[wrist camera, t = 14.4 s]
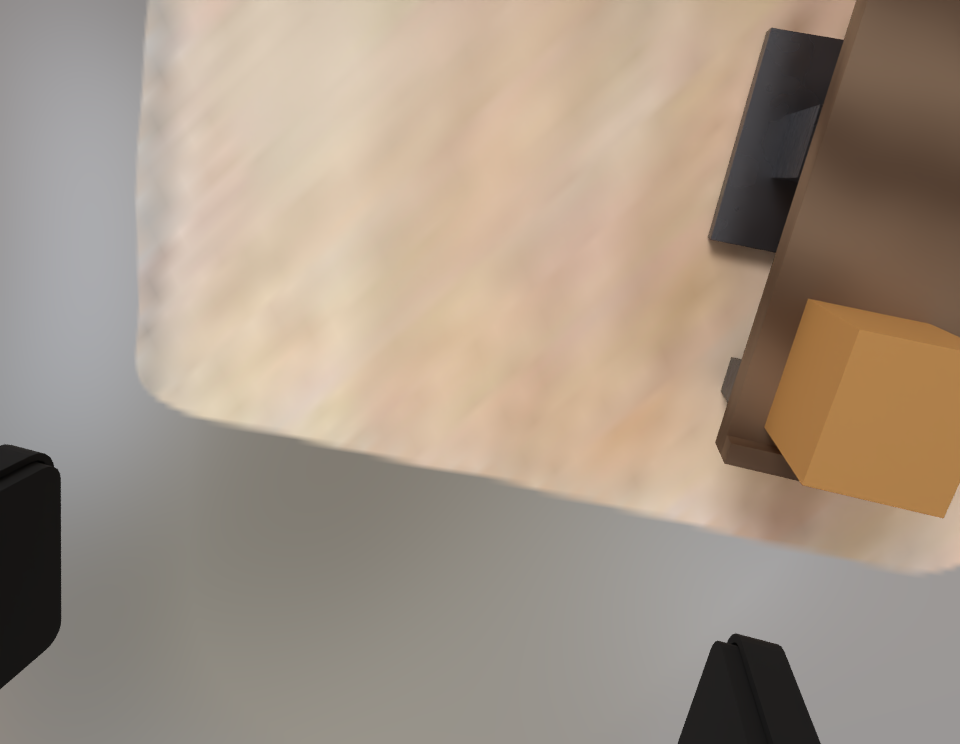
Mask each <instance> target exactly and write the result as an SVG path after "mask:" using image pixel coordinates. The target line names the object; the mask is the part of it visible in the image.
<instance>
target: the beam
mask: <svg viewBox="0 0 960 744" xmlns="http://www.w3.org/2000/svg"><path fill="white" fill-rule="evenodd" d="M808 299H812V300H817V301H822V302H827V303H832V304H836V305H841V306H846V307H851V308H856V309H861V310H865V311H870V312H875V313H880V314H885V315H889V316H894V317H899V318H904V319H909V320H914V321H918V322H923V323H928V324H931V325H934V326H936V327H938V328H940V329H942V330H945V331H947V332H949V333H951V334H953V335H956V336H958V337H960V0H857V1H856V4H855V7H854V10H853V13H852V16H851V19H850V22H849V26H848V29H847V32H846V35H845V38H844V41H843V44H842V47H841V51H840V54H839V57H838V60H837V63H836V66H835V69H834V72H833V76H832V79H831V82H830V85H829V88H828V91H827V94H826V98H825V101H824V104H823V107H822V110H821V113H820V116H819V119H818V123H817V126H816V129H815V132H814V135H813V138H812V141H811V144H810V148H809V151H808V154H807V157H806V160H805V163H804V166H803V170H802V173H801V176H800V179H799V182H798V185H797V188H796V191H795V195H794V198H793V201H792V204H791V207H790V210H789V213H788V216H787V220H786V223H785V226H784V229H783V232H782V235H781V238H780V242H779V245H778V248H777V251H776V254H775V257H774V260H773V263H772V267H771V270H770V273H769V276H768V279H767V282H766V285H765V288H764V292H763V295H762V298H761V301H760V304H759V307H758V310H757V314H756V317H755V320H754V323H753V326H752V329H751V332H750V335H749V339H748V342H747V345H746V348H745V351H744V354H743V357H742V360H741V364H740V367H739V370H738V373H737V376H736V379H735V382H734V386H733V389H732V392H731V395H730V398H729V401H728V404H727V407H726V411H725V414H724V417H723V420H722V423H721V426H720V429H719V432H718V436H717V439H716V442H715V443H716V445H717V447H718V450H719V452H720V454H721V457H722V459H723V461H724V463H725V464H729V465H733V466H738V467H742V468H746V469H750V470H755V471H759V472H763V473H767V474H772V475H776V476H780V477H784V478H789V479H793V480H797V481H799V479H798V478H797V476H796V475H795V473H794V472H793V470H792V469H791V467H790V466H789V464H788V463H787V461H786V460H785V458H784V457H783V455H782V454H781V452H780V450H779V449H778V447H777V446H776V444H775V443H774V441H773V440H772V438H771V437H770V435H769V434H768V432H767V431H766V429H765V428H764V427H765V424H766V421H767V418H768V415H769V412H770V409H771V406H772V403H773V400H774V397H775V394H776V391H777V388H778V385H779V383H780V380H781V377H782V374H783V371H784V368H785V365H786V362H787V359H788V356H789V353H790V350H791V347H792V344H793V341H794V339H795V336H796V333H797V330H798V327H799V324H800V321H801V318H802V315H803V312H804V309H805V306H806V303H807V300H808Z"/></svg>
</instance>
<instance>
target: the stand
mask: <svg viewBox="0 0 960 744" xmlns="http://www.w3.org/2000/svg"><path fill="white" fill-rule="evenodd" d="M843 41H844V40H841V39H835V38H829V37H823V36H817V35H811V34H805V33H799V32H793V31H787V30H781V29H775V28H771V29H770V30H768V31H767V32H766V35H765V39H764V42H763V46H762V49H761V53H760V56H759V60H758V63H757V67H756V70H755V74H754V77H753V81H752V84H751V88H750V91H749V95H748V98H747V102H746V105H745V109H744V112H743V116H742V119H741V123H740V126H739V130H738V133H737V137H736V140H735V144H734V147H733V151H732V154H731V158H730V161H729V165H728V168H727V172H726V175H725V179H724V182H723V186H722V189H721V193H720V196H719V200H718V203H717V207H716V210H715V214H714V217H713V221H712V224H711V228H710V231H709V235H708V238H709V239H711V240H716V241H721V242H726V243H731V244H736V245H741V246H746V247H751V248H756V249H761V250H765V251H770V252H775V253H776V251H777V248H778V245H779V242H780V238H781V235H782V232H783V229H784V226H785V223H786V220H787V216H788V213H789V210H790V207H791V204H792V201H793V198H794V195H795V191H796V188H797V185H798V182H799V179H800V176H801V173H802V170H803V166H804V163H805V160H806V157H807V154H808V151H809V148H810V144H811V141H812V138H813V135H814V132H815V129H816V126H817V123H818V119H819V116H820V113H821V110H822V107H823V104H824V101H825V98H826V94H827V91H828V88H829V85H830V82H831V79H832V76H833V72H834V69H835V66H836V63H837V60H838V57H839V54H840V51H841V47H842V44H843ZM741 360H742V359H737V358H733V357H731V360H730V363H729V366H728V370H727V373H726V376H725V379H724V382H723V386H722V389H721V392H722V394H723V395H724V397H725V399H726V401H727V402H728V401H729V398H730V395H731V392H732V389H733V386H734V382H735V379H736V376H737V373H738V370H739V367H740V364H741Z"/></svg>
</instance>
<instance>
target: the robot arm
mask: <svg viewBox="0 0 960 744" xmlns="http://www.w3.org/2000/svg"><path fill="white" fill-rule="evenodd" d="M60 625H61V478H60V473H59V471H58V469H56V468H55V467H54V465H53V462H52V460H51V458H50V457H49V456H48V455H46V454H43V453H40V452H36V451H32V450H28V449H24V448H20V447H17V446H13V445H1V446H0V689H1V688H2V687H3V686H4V685H6V684H7V683H8V682H9V681H10V680H11V679H13V678H14V677H15V676H16V675H17V674H18V673H20V672H21V671H22V670H23V669H24V668H25V667H27V666H28V665H29V664H30V663H31V662H32V661H33V660H35V659H36V658H37V657H38V656H39V655H40V654H41V653H43V652H44V651H45V650H46V649H47V648H48V647H49V646H50V645H51V643H52V642H53V641H54V639H55V638H56V636H57V634H58V632H59V629H60ZM678 744H821V743H820V741H819V739H818V736H817V733H816V731H815V728H814V726H813V723H812V721H811V718H810V716H809V713H808V710H807V708H806V706H805V703H804V700H803V698H802V695H801V693H800V690H799V688H798V685H797V683H796V680H795V677H794V675H793V672H792V670H791V668H790V665H789V662H788V660H787V657H786V655H785V652H784V650H783V649H782V647H781V646H779V645H778V644H774V643H770V642H766V641H763V640H759V639H755V638H751V637H747V636H743V635H740V634H733V635H732V636H731V637H730V638H729V640H728V642H727V643H725V642H721V641H716V642H715V643H714V644H713V646H712V648H711V650H710V653H709V656H708V659H707V662H706V665H705V667H704V670H703V673H702V676H701V679H700V681H699V684H698V687H697V690H696V693H695V696H694V698H693V701H692V704H691V707H690V710H689V713H688V716H687V718H686V721H685V724H684V727H683V730H682V733H681V735H680V738H679V741H678Z"/></svg>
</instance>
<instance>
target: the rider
mask: <svg viewBox="0 0 960 744" xmlns="http://www.w3.org/2000/svg"><path fill="white" fill-rule="evenodd" d="M764 428H765V429H766V431H767V432H768V434H769V435H770V437H771V438H772V440H773V441H774V443H775V444H776V446H777V447H778V449H779V450H780V452H781V454H782V455H783V457H784V458H785V460H786V461H787V463H788V464H789V466H790V467H791V469H792V470H793V472H794V473H795V475H796V476H797V478H798V479H799V481H800V483H801V484H802V485H804V486H808V487H812V488H817V489H821V490H825V491H829V492H834V493H838V494H842V495H846V496H851V497H855V498H859V499H863V500H868V501H872V502H876V503H880V504H885V505H889V506H893V507H898V508H902V509H906V510H910V511H915V512H919V513H923V514H927V515H932V516H936V517H940V518H944V516H945V514H946V512H947V509H948V507H949V505H950V503H951V500H952V498H953V496H954V494H955V492H956V489H957V487H958V485H959V483H960V337H958V336H956V335H953V334H951V333H949V332H947V331H945V330H942V329H940V328H938V327H936V326H934V325H931V324H928V323H923V322H918V321H914V320H909V319H904V318H899V317H894V316H889V315H885V314H880V313H875V312H870V311H865V310H861V309H856V308H851V307H846V306H841V305H836V304H832V303H827V302H822V301H817V300H812V299H808V300H807V303H806V306H805V309H804V312H803V315H802V318H801V321H800V324H799V327H798V330H797V333H796V336H795V339H794V341H793V344H792V347H791V350H790V353H789V356H788V359H787V362H786V365H785V368H784V371H783V374H782V377H781V380H780V383H779V385H778V388H777V391H776V394H775V397H774V400H773V403H772V406H771V409H770V412H769V415H768V418H767V421H766V424H765V427H764Z"/></svg>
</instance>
